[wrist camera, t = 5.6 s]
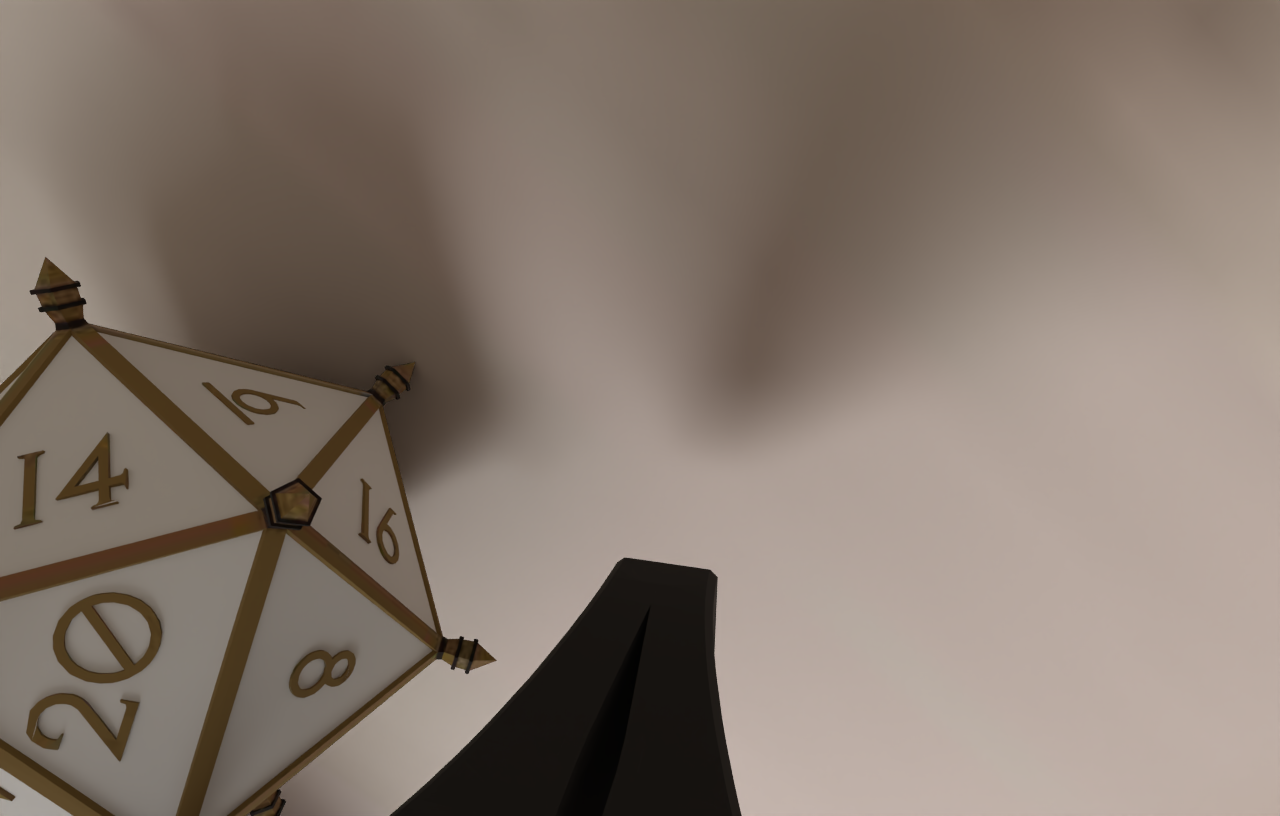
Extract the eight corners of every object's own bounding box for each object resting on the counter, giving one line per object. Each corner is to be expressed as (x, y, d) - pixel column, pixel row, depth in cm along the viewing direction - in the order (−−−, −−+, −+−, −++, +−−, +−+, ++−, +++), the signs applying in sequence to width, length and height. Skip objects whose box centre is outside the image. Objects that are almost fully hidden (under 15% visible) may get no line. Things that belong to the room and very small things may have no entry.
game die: (353, 279, 17) (-285, 28, 8) (648, 501, 15) (247, 535, 5) (156, 598, 18) (-648, 728, 8) (404, 859, 16) (-330, 1456, 6)
